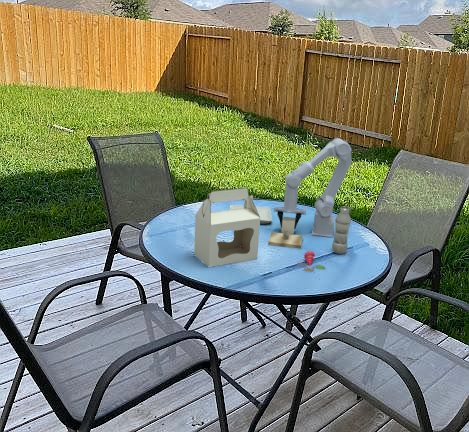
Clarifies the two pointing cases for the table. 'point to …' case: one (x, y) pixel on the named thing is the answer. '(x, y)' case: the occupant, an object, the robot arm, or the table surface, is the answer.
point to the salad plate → (262, 211)
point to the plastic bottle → (341, 231)
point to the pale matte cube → (288, 224)
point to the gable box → (235, 219)
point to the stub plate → (285, 240)
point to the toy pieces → (309, 261)
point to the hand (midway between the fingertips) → (288, 227)
